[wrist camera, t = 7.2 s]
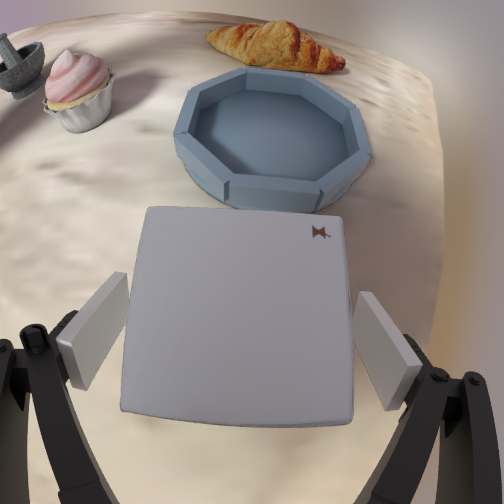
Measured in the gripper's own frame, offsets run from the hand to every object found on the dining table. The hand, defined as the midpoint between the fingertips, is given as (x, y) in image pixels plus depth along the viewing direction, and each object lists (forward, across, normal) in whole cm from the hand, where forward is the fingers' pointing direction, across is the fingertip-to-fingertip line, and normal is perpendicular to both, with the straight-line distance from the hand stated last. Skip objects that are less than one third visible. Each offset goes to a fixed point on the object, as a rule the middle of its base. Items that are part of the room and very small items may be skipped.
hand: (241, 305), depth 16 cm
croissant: (+30, +2, +22) cm, 38 cm away
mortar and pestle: (+27, -39, +19) cm, 52 cm away
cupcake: (+20, -20, +12) cm, 30 cm away
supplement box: (+3, 0, -5) cm, 6 cm away
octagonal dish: (+17, +2, +9) cm, 19 cm away
